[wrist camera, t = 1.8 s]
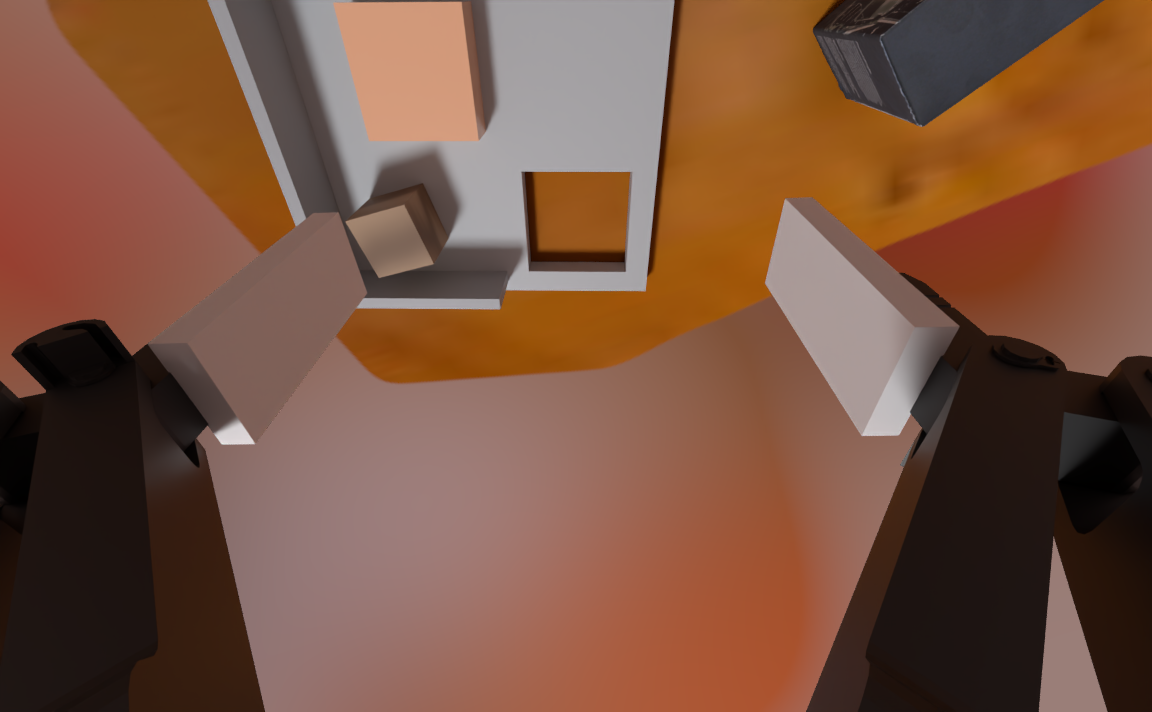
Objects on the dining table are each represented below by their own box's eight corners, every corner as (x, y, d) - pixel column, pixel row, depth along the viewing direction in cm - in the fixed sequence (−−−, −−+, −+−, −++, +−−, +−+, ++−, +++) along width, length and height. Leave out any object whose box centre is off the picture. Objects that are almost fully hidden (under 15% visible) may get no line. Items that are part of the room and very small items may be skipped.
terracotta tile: (352, 1, 31) (332, 2, 29) (471, 1, 31) (461, 1, 29) (383, 131, 36) (369, 141, 34) (486, 131, 36) (478, 141, 34)
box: (970, -117, 29) (1124, -162, 20) (1000, -17, 31) (1146, -20, 23) (806, 27, 33) (878, 38, 25) (846, 103, 36) (922, 136, 28)
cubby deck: (248, -75, 30) (172, -90, 25) (677, -80, 30) (697, -96, 24) (362, 279, 46) (331, 317, 41) (643, 280, 46) (651, 320, 40)
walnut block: (369, 198, 39) (345, 221, 35) (423, 183, 38) (404, 204, 34) (398, 251, 42) (378, 277, 38) (448, 238, 41) (433, 264, 37)
